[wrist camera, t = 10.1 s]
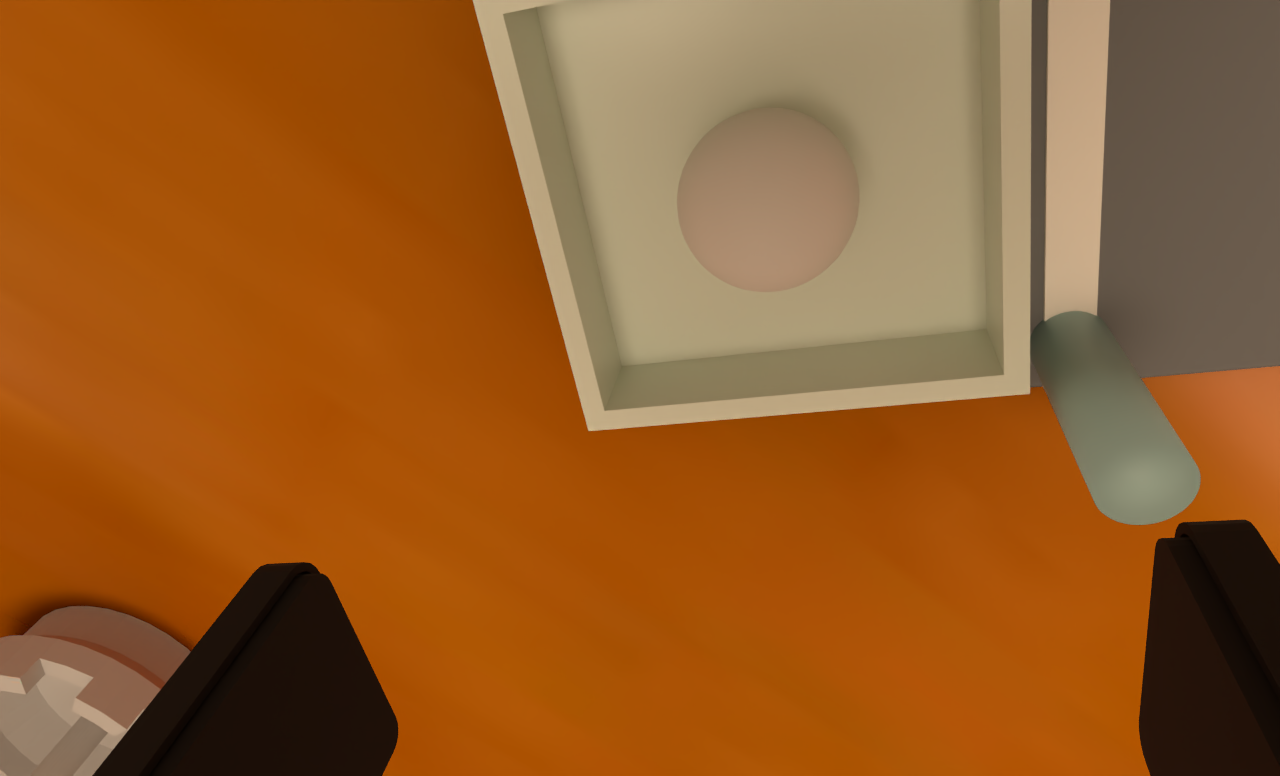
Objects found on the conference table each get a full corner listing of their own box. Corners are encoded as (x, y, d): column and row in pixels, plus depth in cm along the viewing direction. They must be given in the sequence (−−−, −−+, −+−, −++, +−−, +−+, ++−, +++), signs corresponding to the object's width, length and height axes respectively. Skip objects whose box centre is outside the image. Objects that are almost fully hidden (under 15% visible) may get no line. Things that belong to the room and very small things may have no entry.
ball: (676, 104, 26) (646, 152, 22) (849, 74, 25) (853, 120, 21) (704, 261, 29) (682, 331, 24) (864, 240, 27) (869, 312, 23)
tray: (508, -24, 26) (470, -10, 23) (1003, -133, 22) (1031, -134, 19) (609, 380, 32) (588, 430, 29) (1008, 340, 29) (1029, 393, 26)
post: (1026, 309, 28) (1093, 448, 21) (1108, 300, 28) (1204, 440, 21) (1026, 375, 29) (1089, 527, 23) (1105, 368, 29) (1195, 521, 22)
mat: (469, -87, 25) (463, -86, 25) (1650, -374, 19) (1667, -379, 18) (600, 420, 33) (598, 426, 33) (1464, 344, 26) (1473, 351, 26)
